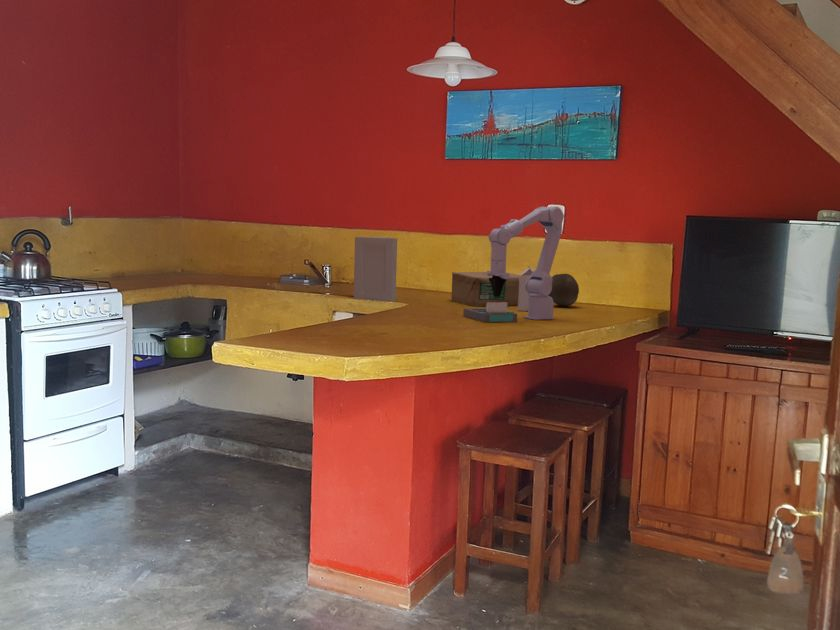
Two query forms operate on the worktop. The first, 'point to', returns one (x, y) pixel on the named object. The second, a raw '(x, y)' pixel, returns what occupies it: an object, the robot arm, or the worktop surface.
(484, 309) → the slot rack
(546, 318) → the robot arm
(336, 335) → the worktop surface
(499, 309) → the grey slab
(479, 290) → the paper package
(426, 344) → the worktop surface
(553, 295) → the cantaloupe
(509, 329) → the worktop surface
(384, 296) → the grooved grey upright panel
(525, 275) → the milk carton
